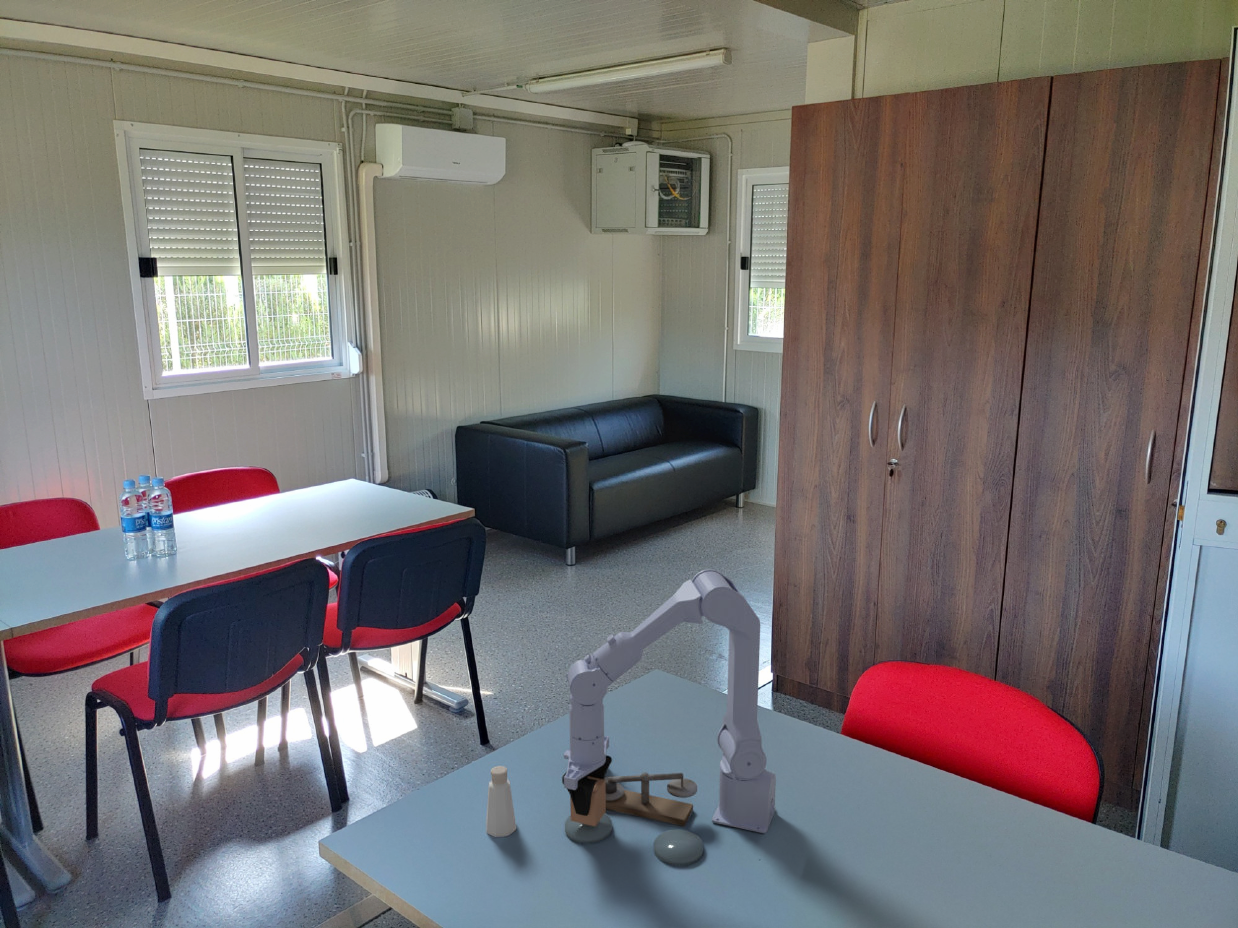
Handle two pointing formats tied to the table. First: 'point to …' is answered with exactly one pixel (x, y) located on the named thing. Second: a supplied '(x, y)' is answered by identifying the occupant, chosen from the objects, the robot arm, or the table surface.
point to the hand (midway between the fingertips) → (588, 805)
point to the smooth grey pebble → (678, 847)
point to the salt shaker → (500, 804)
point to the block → (592, 805)
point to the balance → (651, 797)
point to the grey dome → (588, 830)
